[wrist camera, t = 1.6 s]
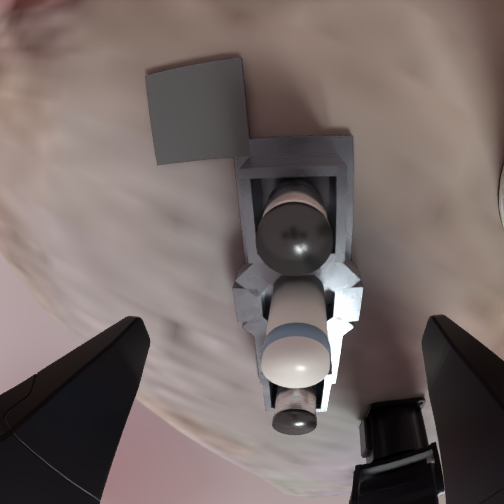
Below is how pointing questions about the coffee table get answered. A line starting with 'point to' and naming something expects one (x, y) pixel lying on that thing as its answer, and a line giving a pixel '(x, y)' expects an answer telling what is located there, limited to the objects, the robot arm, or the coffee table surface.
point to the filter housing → (341, 220)
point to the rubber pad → (199, 112)
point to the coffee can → (501, 197)
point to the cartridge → (296, 333)
